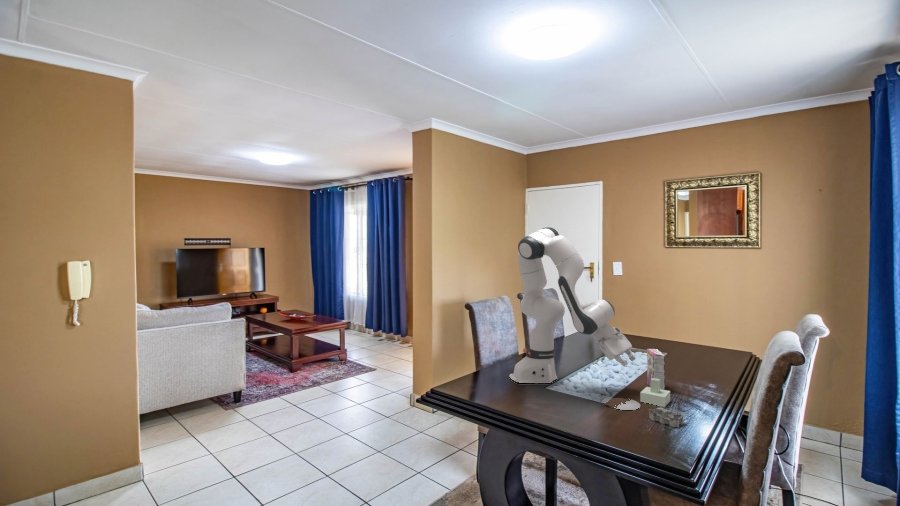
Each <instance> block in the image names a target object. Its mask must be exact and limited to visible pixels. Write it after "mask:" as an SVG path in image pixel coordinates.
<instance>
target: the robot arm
mask: <svg viewBox="0 0 900 506" xmlns="http://www.w3.org/2000/svg"><path fill="white" fill-rule="evenodd" d="M517 249H518V251H517V252H518V253H517V263H518V264H517V265H518V269H519V273H520V277H521V282H522V287H523V298H522V299H521V300H520V303H519V308H520V311H521V313H523V314H524V315H525V316H527V317H529V318H530V319H531V318H533V319H536V323H535V325H534V328H532V329H531V330H530V332H529V348H528V349H527V348H525V347H524V348H523V349H522V352H523V353H524V354H525V355H526V356H525V357H523V358H521V360H520V361H518V362H517V363H516V364H515V366H514V369H513V373H510V374H509V377H510V378H511V379H512V380H514V381H516V382H519V383H551V382H552V381H553V380H555V379H557V380H558V376H557V371H556V365H555V360H556V359H555V358H556V353H555V350H556V349H555V346H554V344H555V343H554V342H555V332H556V327H557V324H558V323H559V322H560V321H561V320H562V319H563V318H564V316H565V312H566V310H565V306H564V304H563V302H562V301H560V300H558V299H556V298H553V297H549V296H545V294H544V288H545V287H546V285H547V283H548V279H547V276H546V272H545V268H544V265H543V260H542V258H543V257H544V256H547V257H549V258H550V259H551V261H552V262H553V263H552V264H554V266H555V268H556V270H557V272H558V279H557V284H558V287H559V291H560V293H561V295H562V298H563V300H564V302H565V304H566V307H567V309H568V311H569V314H570V316H571V320H572V323H573V324H572V325H573V327H574V328H575V330H576V331H577V332H578V333H579V334H581V335H582V334H583V335H587V336H591V335H592V338H594V339H595V340H596V342H597V343H598V345H599V349H600V350H601V352H602V353H603V355H605V357H606V358H607V359H608V360H609V361H613V360H614V361H616V362H618V363H619V364H621V366H623V367H626V366H627V365H628V362H627V361H626V360H625V359H623V357H622V356H621V355H623V354H625V355H627V356H628V358H629V360H630V361H631V362H633V361H635V360H636V357H635V356H634V354H633V352H632V350H631V348H633V345H632V343H631V342H630V340H628V338H627V337H626V335H624V334H623V333H622V330H621V329H620V328H619V327H614V326H612V325H611V324H610V323H609V322H610V321H611V320H612V319H613V318H614V317H615V312H616V311H615V308H614V305H613V304H612V303H611V302H610V301H609V300H607V299H605V298H599V299H597V300H594V301H593V302H584V303H581V302H580V301H579V298H578V296H577V293H576V290H575V289H576V284H577V282H578V281H579V279H580V278H581V276H582V274H583V272H584V268H585V263H584V260H583V258H582V257H581V255H580V253H579V252H578V250H577V249H576V248H575V246H574V245H573V244H572V243H571V241H570V240H569V239H568V238H567V237H566V236H564V235H562V234H561V235H560V234H559V232H558V231H557V230H556V229H555V228H554V227H548V226H547V227H542V228H540V229H538V230H535V231H533V232H532V233H530V234H528V235H526V236H524V237H522V239H520V241H519V242H518V246H517ZM510 378H509V379H510ZM512 380H511V381H512ZM552 383H553V382H552Z"/></svg>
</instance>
